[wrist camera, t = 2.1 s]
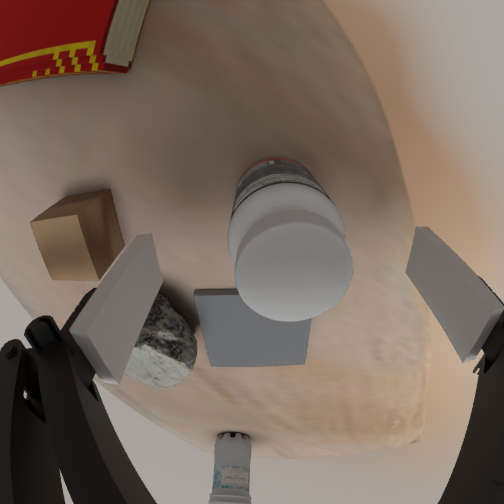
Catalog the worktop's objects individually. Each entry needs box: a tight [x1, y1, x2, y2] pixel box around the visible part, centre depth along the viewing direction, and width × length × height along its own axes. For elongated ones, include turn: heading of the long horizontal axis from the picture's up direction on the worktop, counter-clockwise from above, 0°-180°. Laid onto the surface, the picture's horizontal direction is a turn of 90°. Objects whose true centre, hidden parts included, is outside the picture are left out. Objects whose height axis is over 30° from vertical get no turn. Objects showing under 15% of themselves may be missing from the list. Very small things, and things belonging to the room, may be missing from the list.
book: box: [0, 0, 151, 86], centre depth 8 cm, size 18×13×5 cm
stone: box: [123, 293, 197, 388], centre depth 22 cm, size 10×10×10 cm
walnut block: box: [30, 189, 125, 281], centre depth 18 cm, size 5×5×5 cm
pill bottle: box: [228, 158, 353, 322], centre depth 15 cm, size 6×6×10 cm
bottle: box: [209, 433, 251, 504], centre depth 32 cm, size 7×7×20 cm
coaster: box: [194, 289, 311, 367], centre depth 25 cm, size 10×10×1 cm
